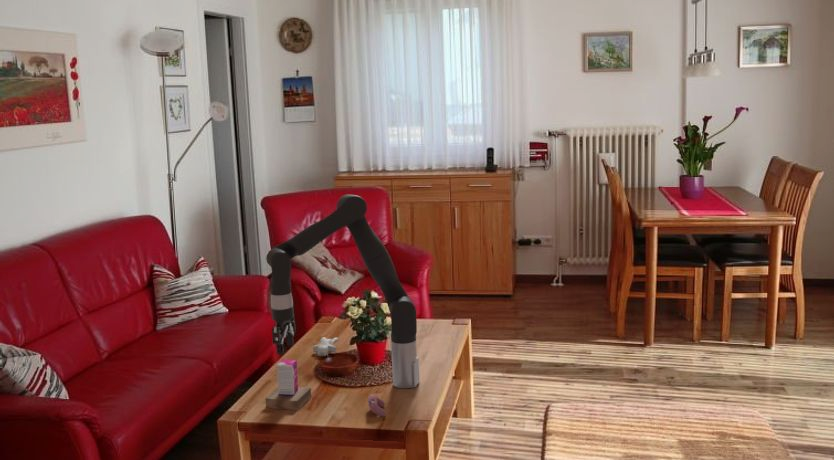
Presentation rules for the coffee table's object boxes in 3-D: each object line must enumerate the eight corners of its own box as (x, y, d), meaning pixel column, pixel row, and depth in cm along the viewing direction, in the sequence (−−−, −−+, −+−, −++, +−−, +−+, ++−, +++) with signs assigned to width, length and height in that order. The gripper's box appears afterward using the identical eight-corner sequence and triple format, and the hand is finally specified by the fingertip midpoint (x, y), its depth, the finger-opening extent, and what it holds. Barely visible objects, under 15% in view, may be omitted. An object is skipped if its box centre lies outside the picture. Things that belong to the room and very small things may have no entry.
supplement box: (294, 396, 296) (292, 365, 294) (278, 395, 297) (275, 365, 294) (299, 389, 302) (297, 359, 299) (283, 389, 303) (281, 359, 300)
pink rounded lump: (374, 410, 294) (364, 394, 292) (385, 404, 294) (376, 387, 292) (375, 422, 284) (365, 405, 283) (387, 415, 284) (377, 398, 283)
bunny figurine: (309, 348, 344) (318, 332, 358) (311, 360, 345) (319, 343, 360) (332, 348, 343) (340, 333, 357) (333, 360, 344) (341, 344, 358)
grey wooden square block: (311, 398, 304) (310, 388, 303) (297, 411, 293) (296, 401, 292) (280, 395, 307) (280, 385, 306) (266, 409, 296) (265, 398, 295)
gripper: (283, 311, 285) (287, 357, 288) (300, 300, 298) (303, 343, 302) (263, 311, 287) (267, 356, 290) (280, 299, 300) (284, 342, 304)
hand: (285, 349), depth 296 cm, fingers open, 8 cm apart
